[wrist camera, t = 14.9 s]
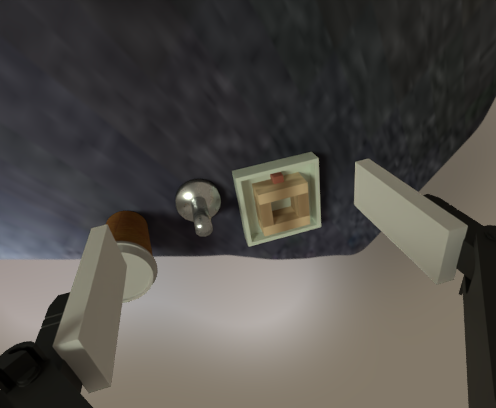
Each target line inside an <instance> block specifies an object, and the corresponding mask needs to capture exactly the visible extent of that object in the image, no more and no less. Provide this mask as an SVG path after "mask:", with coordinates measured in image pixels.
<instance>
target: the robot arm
mask: <svg viewBox="0 0 496 408" xmlns="http://www.w3.org/2000/svg"><path fill="white" fill-rule="evenodd" d="M354 205H355V206H356V207H357V208H358V209H359V210H360V211H361V212H362V213H363V214H364V215H365V216H366V217H367V218H368V219H369V220H370V221H371V222H372V223H374V224H375V225H376V226H377V227H378V228H379V229H380V230H381V231H382V232H383V233H384V234H385V235H386V236H387V237H388V238H389V239H390V240H391V241H392V242H393V243H394V244H395V245H396V246H397V247H398V248H400V250H402V251H403V252H404V253H405V254H406V255H407V256H408V257H409V258H410V259H411V260H412V261H413V262H414V263H415V264H416V265H417V266H418V267H419V268H420V269H422V271H423V272H424V273H425V274H426V275H427V276H429V277H430V278H431V279H432V280H433V281H434V282H435V283H436V284H441V283H444V282H447V281H451V280H454V277H455V273H456V269H458V270H459V271H460V272H462V273H463V274H464V277H463V281H462V284H461V288H460V291H459V294H460V295H462V293H463V301H464V302H463V303H464V323H465V342H466V363H467V382H468V401H469V408H496V226H492V225H487V226H483V225H481V224H479V223H478V222H476V221H475V220H473V219H472V218H470V217H468V216H467V215H466V214H464V213H462V212H461V211H459V210H457V209H456V208H454V207H453V206H452V205H449V204H448V203H447V202H445V201H444V200H442V199H441V198H438V197H435V196H433V195H430V194H426V195H422V194H420V193H419V192H417V191H416V190H414V189H413V188H411V187H410V186H408V185H407V184H405V183H404V182H402V181H401V180H399V179H398V178H396V177H395V176H393V175H392V174H391V173H389V172H388V171H386V170H385V169H383V168H382V167H380V166H379V165H377V164H376V163H374V162H373V161H371V160H370V159H365V160H361V161H357V162H355V193H354ZM126 271H127V264H126V262H125V260H124V258H123V256H122V254H121V252H120V250H119V248H118V245H117V243H116V241H115V239H114V237H113V235H112V233H111V231H110V229H109V226H108V224H107V225H103V226H99V227H95V228H91V231H90V234H89V237H88V240H87V243H86V246H85V249H84V253H83V256H82V259H81V262H80V265H79V268H78V271H77V274H76V277H75V280H74V283H73V286H72V289H71V292H69V293H66V294H62V295H58V296H57V298H56V299H55V300H54V301H53V302H52V304H51V305H50V306H49V308H48V311H47V313H46V316H45V320H44V321H43V323H42V326H41V327H42V329H40V331H39V334H38V336H37V339H36V342H35V343H34V342H31V341H29V342H22V343H19V344H16V345H14V346H13V347H11V348H9V349H8V350H6V351H5V352H4V353H3V354H2V355H1V356H0V389H1V390H0V408H93V407H92V406H91V405H90V404H89V403H88V402H87V400H86V399H84V397H83V396H82V395H81V394H80V393H81V388H82V385H83V386H84V387H85V389H86V390H87V391H88V392H89V393H91V392H94V391H98V390H101V389H104V388H107V387H110V386H111V382H112V374H113V367H114V360H115V352H116V345H117V337H118V330H119V322H120V315H121V307H122V301H123V293H124V286H125V279H126Z"/></svg>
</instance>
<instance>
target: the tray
mask: <svg viewBox="0 0 496 408" xmlns="http://www.w3.org/2000/svg"><path fill="white" fill-rule="evenodd" d="M277 172H281V173H282V174H283V176H285V175H289V174H292V173H296V172H299V173H300V174H301V176H302V177H303V178H304V179H305V180H306V181H307V182H308V196H309V212H310V224H309V225H305V226H301V227H298V228H294V229H290V230H287V231H283V232H280V233H276V234H272V235H269V236H264V234H263V232H262V230H261V228H260V226H259V224H258V218H257V212H256V206H255V200H254V194H253V188H252V184H253V183H257V182H261V181H265V180H269V179H271V178H270V174H273V173H277ZM232 174H233V179H234V184H235V189H236V194H237V199H238V204H239V209H240V214H241V219H242V224H243V229H244V234H245V238H246V241H247V244H248V246H253V245H257V244H260V243H264V242H268V241H271V240H275V239H279V238H282V237H286V236H290V235H293V234H297V233H300V232H304V231H308V230H311V229H315V228H319V227H321V210H320V183H319V158H318V157H317V156H316V155H315V154H313V153H312V152H308V153H304V154H300V155H296V156H292V157H288V158H284V159H280V160H276V161H271V162H267V163H263V164H259V165H255V166H251V167H247V168H243V169H239V170H234V171H232ZM289 206H291V200H290V197H289V198H285V199H281V200H278V201H274V202H271V207H272V211H274V210H278V209H282V208H286V207H289Z"/></svg>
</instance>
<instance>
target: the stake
mask: <svg viewBox="0 0 496 408" xmlns="http://www.w3.org/2000/svg"><path fill="white" fill-rule="evenodd" d="M220 204H221V199H220V195H219V192H218V190H217V188H216V186H215V185H214V184H213V183H211V182H210V181H207V180H204V179H193V180H189V181H187V182H185V183H184V184H183V185H182V186H181V187H180V188H179V189H178V191H177V193H176V208H177V211H178V212H179V214H180V215H181V216H182V217H183V218H185V219H187V220H189V221H193V222H194V226H195V231H196V234H197V235H199V236H201V237H206V236H208V235H210V234H211V233H212V231H213V227H212V223H211V219H210V218H212V217H213V216H214V215H215V214H216V213H217V212H218V210H219V208H220Z"/></svg>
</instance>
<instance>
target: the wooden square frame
mask: <svg viewBox="0 0 496 408" xmlns="http://www.w3.org/2000/svg"><path fill="white" fill-rule="evenodd" d="M270 178H271V179H269V180H265V181H261V182H257V183H253V184H252V188H253V194H254V200H255V206H256V212H257V218H258V224H259V226H260V228H261V230H262V232H263V234H264V236H269V235H272V234H276V233H280V232H283V231H287V230H290V229H294V228H298V227H301V226H305V225H309V224H310V212H309V196H308V182H307V181H306V180H305V179H304V178H303V177H302V176H301V174H300V173H299V172H296V173H292V174H289V175H285V176H283V174H282V173H281V172H277V173H273V174H270ZM289 197H290V200H291V206H289V207H286V208H282V209H278V210H274V211H272V207H271V202H274V201H278V200H281V199H285V198H289Z"/></svg>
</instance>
